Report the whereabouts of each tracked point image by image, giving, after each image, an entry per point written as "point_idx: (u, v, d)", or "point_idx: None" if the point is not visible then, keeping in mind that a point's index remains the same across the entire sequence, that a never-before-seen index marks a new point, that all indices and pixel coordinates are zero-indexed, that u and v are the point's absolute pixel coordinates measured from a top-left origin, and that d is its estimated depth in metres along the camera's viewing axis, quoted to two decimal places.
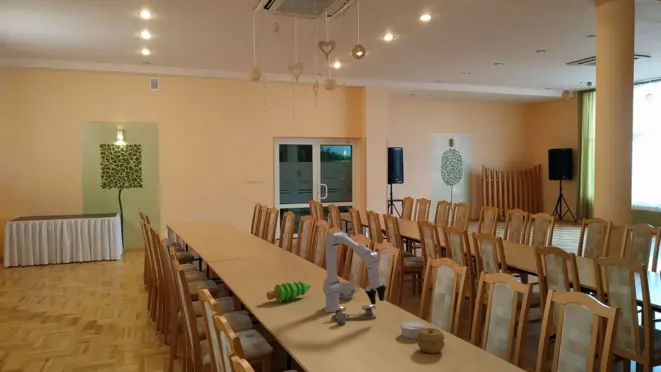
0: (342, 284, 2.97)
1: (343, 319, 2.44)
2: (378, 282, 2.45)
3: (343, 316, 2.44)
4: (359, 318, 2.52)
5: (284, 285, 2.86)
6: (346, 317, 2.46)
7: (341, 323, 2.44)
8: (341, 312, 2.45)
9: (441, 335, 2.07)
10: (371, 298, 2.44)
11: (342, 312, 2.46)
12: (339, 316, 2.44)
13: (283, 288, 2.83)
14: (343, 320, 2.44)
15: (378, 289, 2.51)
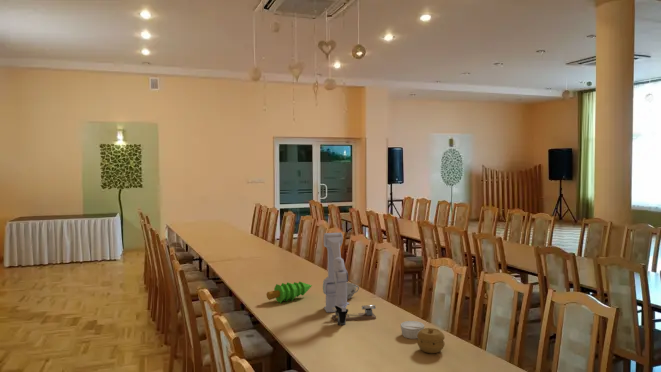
0: None
1: None
2: (346, 301, 2.45)
3: None
4: (359, 318, 2.52)
5: (284, 285, 2.86)
6: (346, 317, 2.46)
7: (341, 323, 2.44)
8: None
9: (441, 335, 2.07)
10: (341, 317, 2.43)
11: None
12: None
13: (283, 288, 2.83)
14: None
15: (338, 308, 2.48)
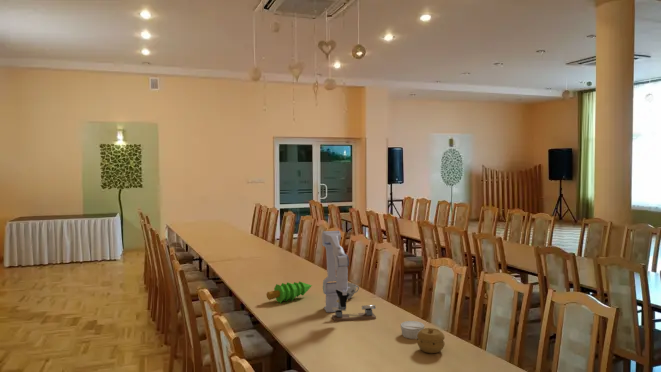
0: None
1: None
2: (347, 285, 2.45)
3: None
4: (359, 318, 2.52)
5: (284, 285, 2.86)
6: (347, 301, 2.46)
7: (342, 307, 2.44)
8: None
9: (441, 335, 2.07)
10: (342, 301, 2.43)
11: None
12: None
13: (283, 288, 2.83)
14: None
15: (339, 293, 2.48)
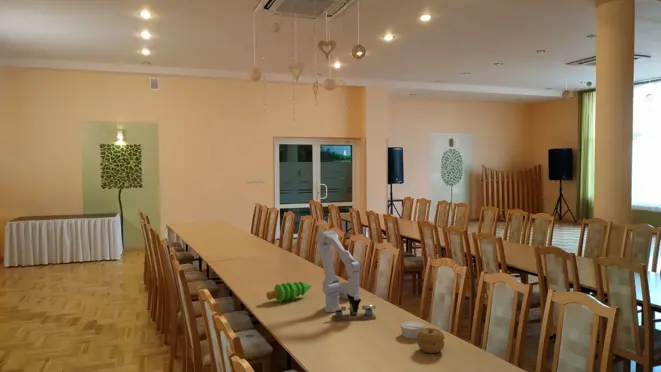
0: (342, 284, 2.97)
1: None
2: (358, 290, 2.54)
3: None
4: (359, 318, 2.52)
5: (284, 285, 2.86)
6: (358, 308, 2.55)
7: (353, 314, 2.53)
8: None
9: (441, 335, 2.07)
10: (354, 306, 2.51)
11: None
12: (351, 308, 2.53)
13: (283, 288, 2.83)
14: None
15: (350, 296, 2.58)
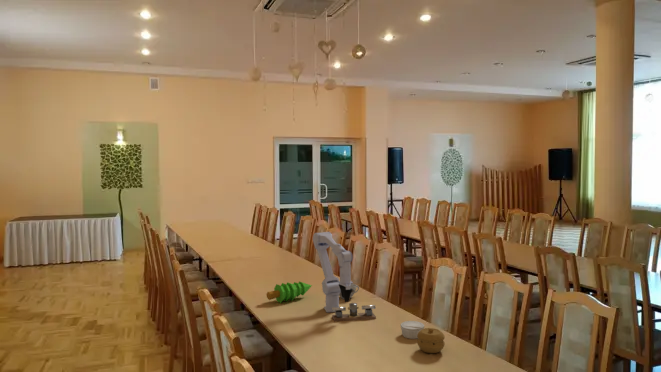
0: None
1: (355, 310, 2.53)
2: (350, 280, 2.55)
3: (355, 307, 2.53)
4: (359, 318, 2.52)
5: (284, 285, 2.86)
6: (358, 308, 2.55)
7: (353, 314, 2.53)
8: (353, 304, 2.54)
9: (441, 335, 2.07)
10: (346, 296, 2.52)
11: (354, 303, 2.55)
12: (351, 307, 2.53)
13: (283, 288, 2.83)
14: (355, 311, 2.53)
15: (342, 287, 2.59)
